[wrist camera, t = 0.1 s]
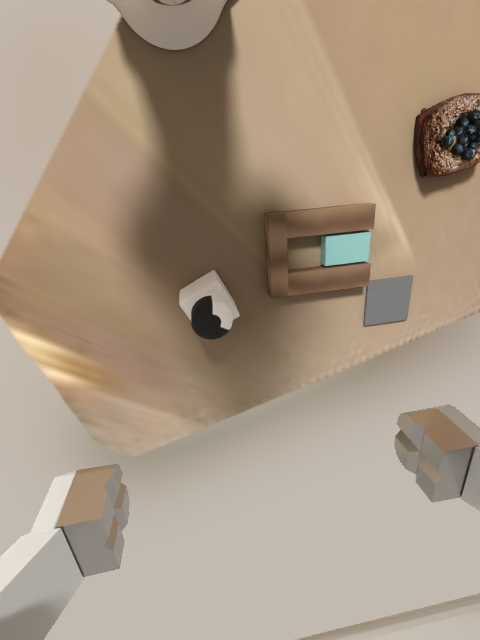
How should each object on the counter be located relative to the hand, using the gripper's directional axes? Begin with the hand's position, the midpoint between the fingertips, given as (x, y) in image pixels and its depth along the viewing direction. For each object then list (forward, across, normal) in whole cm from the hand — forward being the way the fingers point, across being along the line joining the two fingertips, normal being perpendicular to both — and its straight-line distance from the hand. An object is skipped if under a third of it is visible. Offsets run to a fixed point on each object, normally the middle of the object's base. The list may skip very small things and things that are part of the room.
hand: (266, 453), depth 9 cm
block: (+48, -25, +5) cm, 55 cm away
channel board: (+48, -20, +5) cm, 52 cm away
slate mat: (+48, -34, +17) cm, 61 cm away
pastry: (+48, -42, -11) cm, 65 cm away
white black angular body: (+48, 0, +11) cm, 49 cm away
